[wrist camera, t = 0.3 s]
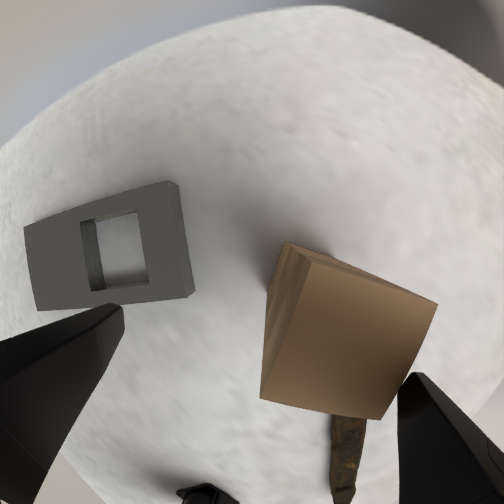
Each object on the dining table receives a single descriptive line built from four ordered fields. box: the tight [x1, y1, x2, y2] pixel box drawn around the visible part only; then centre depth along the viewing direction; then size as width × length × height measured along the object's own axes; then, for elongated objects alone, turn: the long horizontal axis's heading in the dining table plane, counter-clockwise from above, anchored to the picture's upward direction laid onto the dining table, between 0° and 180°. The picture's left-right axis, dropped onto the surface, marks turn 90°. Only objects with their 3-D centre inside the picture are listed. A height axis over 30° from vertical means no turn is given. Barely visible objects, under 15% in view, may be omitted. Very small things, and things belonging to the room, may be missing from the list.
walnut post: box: [259, 242, 438, 420], centre depth 15 cm, size 4×4×15 cm
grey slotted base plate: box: [24, 181, 195, 311], centre depth 22 cm, size 18×9×2 cm, turn 99°
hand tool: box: [330, 414, 367, 504], centre depth 21 cm, size 19×4×5 cm, turn 4°
